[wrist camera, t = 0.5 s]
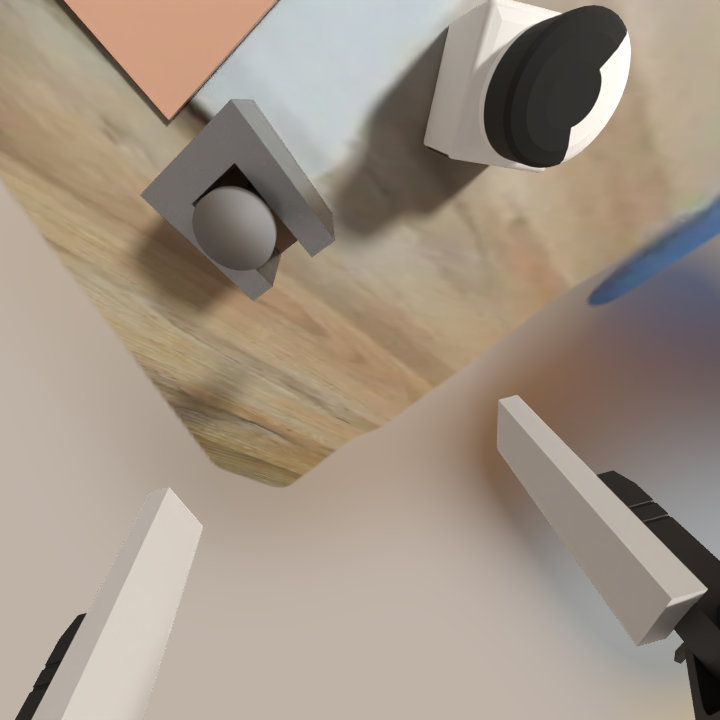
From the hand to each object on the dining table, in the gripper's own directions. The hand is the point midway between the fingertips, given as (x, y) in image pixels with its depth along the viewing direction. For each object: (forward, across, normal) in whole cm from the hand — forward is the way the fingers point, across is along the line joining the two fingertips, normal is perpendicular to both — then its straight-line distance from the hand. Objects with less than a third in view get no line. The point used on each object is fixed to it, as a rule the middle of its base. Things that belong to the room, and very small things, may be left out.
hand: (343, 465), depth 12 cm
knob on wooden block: (+22, -2, +11) cm, 25 cm away
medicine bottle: (+21, +16, +12) cm, 29 cm away
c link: (+17, -2, +10) cm, 20 cm away
